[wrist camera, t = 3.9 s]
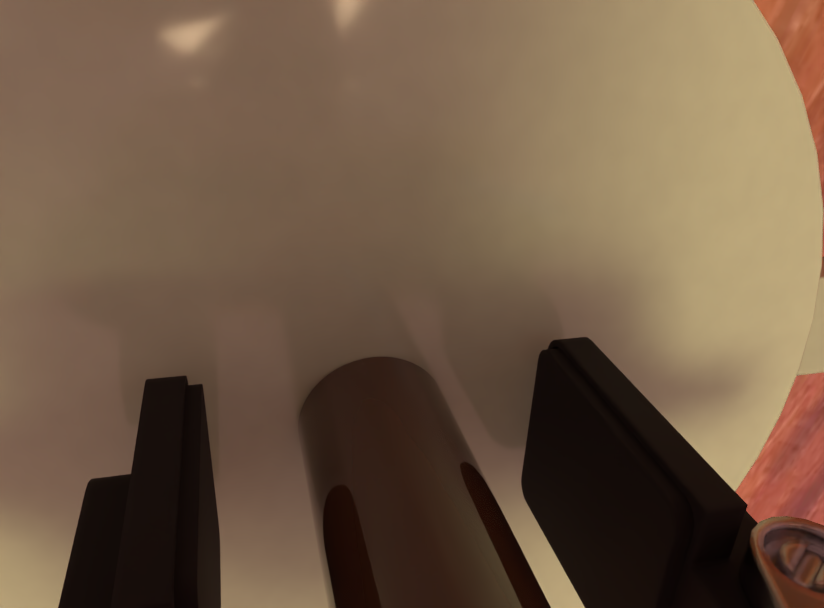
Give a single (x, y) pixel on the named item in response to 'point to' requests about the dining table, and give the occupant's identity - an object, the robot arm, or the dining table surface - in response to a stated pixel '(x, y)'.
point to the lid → (385, 266)
